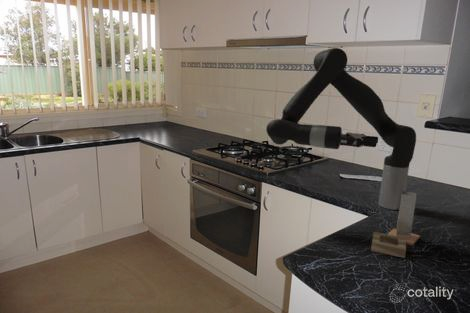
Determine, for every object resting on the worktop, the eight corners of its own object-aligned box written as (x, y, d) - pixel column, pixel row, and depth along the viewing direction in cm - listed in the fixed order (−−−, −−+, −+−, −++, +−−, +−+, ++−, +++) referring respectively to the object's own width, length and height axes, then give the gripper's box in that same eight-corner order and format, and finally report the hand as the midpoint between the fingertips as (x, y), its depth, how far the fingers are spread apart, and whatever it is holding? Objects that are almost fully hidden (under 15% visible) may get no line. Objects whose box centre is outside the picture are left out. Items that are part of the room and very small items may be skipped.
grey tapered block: (396, 231, 116) (402, 190, 114) (409, 234, 115) (415, 193, 112) (396, 236, 113) (402, 194, 110) (409, 239, 111) (416, 196, 108)
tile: (393, 230, 120) (393, 228, 119) (419, 237, 114) (419, 235, 114) (385, 237, 113) (386, 235, 113) (412, 245, 108) (413, 243, 108)
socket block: (372, 239, 112) (373, 231, 111) (404, 245, 108) (405, 238, 108) (370, 250, 104) (371, 242, 103) (404, 258, 100) (406, 249, 100)
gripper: (322, 127, 112) (377, 132, 105) (330, 123, 124) (379, 128, 118) (320, 151, 113) (374, 157, 107) (328, 144, 126) (377, 150, 119)
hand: (377, 141), depth 112 cm, fingers open, 8 cm apart
